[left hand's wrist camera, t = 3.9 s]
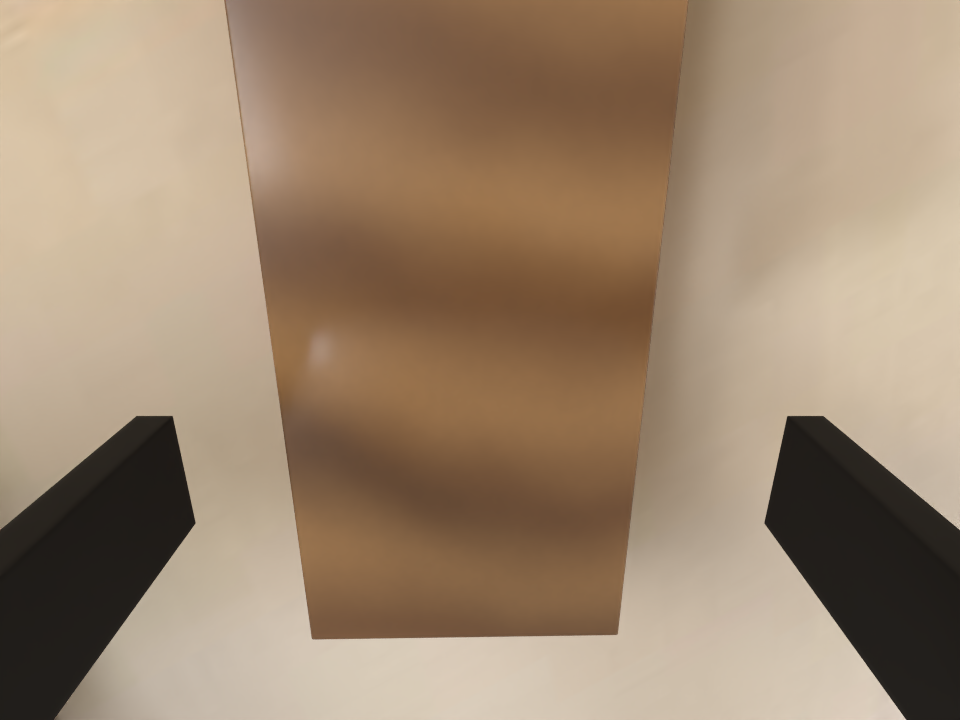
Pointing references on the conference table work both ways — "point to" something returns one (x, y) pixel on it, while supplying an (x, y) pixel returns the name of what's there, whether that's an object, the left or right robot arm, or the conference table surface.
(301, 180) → the striped wooden beam
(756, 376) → the conference table surface
